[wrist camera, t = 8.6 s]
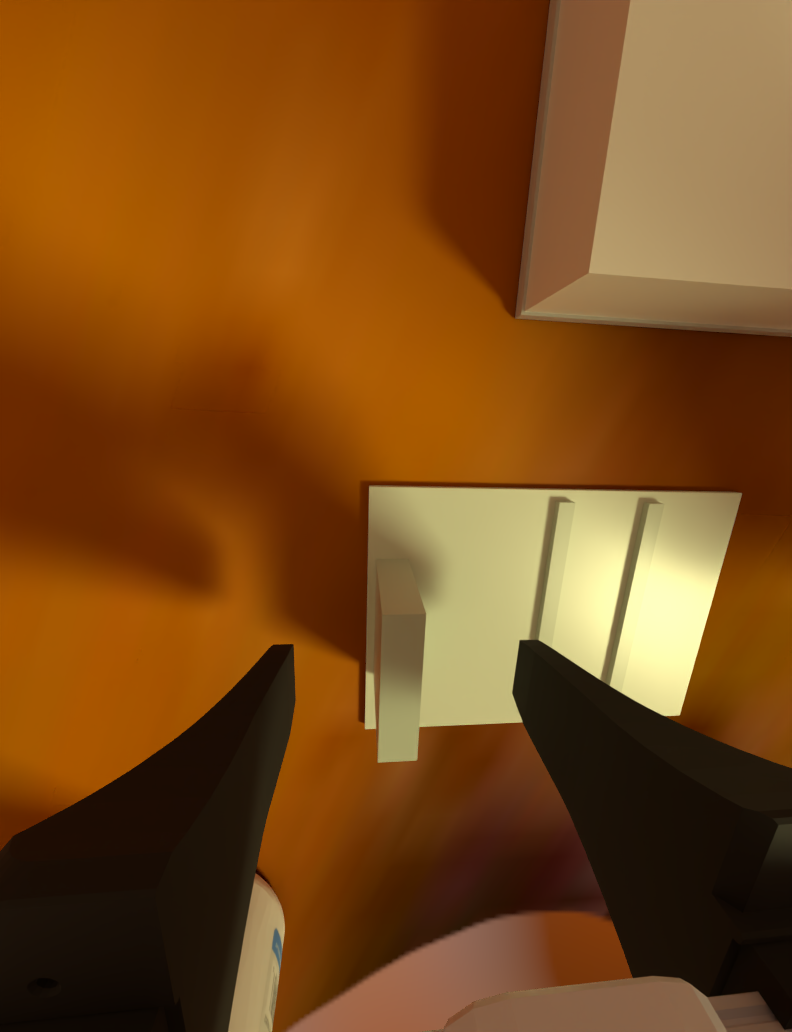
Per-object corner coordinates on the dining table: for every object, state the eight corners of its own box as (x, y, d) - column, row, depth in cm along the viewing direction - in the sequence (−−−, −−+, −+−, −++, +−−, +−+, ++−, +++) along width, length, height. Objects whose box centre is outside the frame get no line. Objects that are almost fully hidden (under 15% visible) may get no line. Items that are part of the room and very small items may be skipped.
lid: (723, 489, 15) (878, 522, 11) (666, 702, 18) (769, 801, 14) (368, 482, 14) (373, 517, 9) (364, 714, 17) (366, 829, 12)
